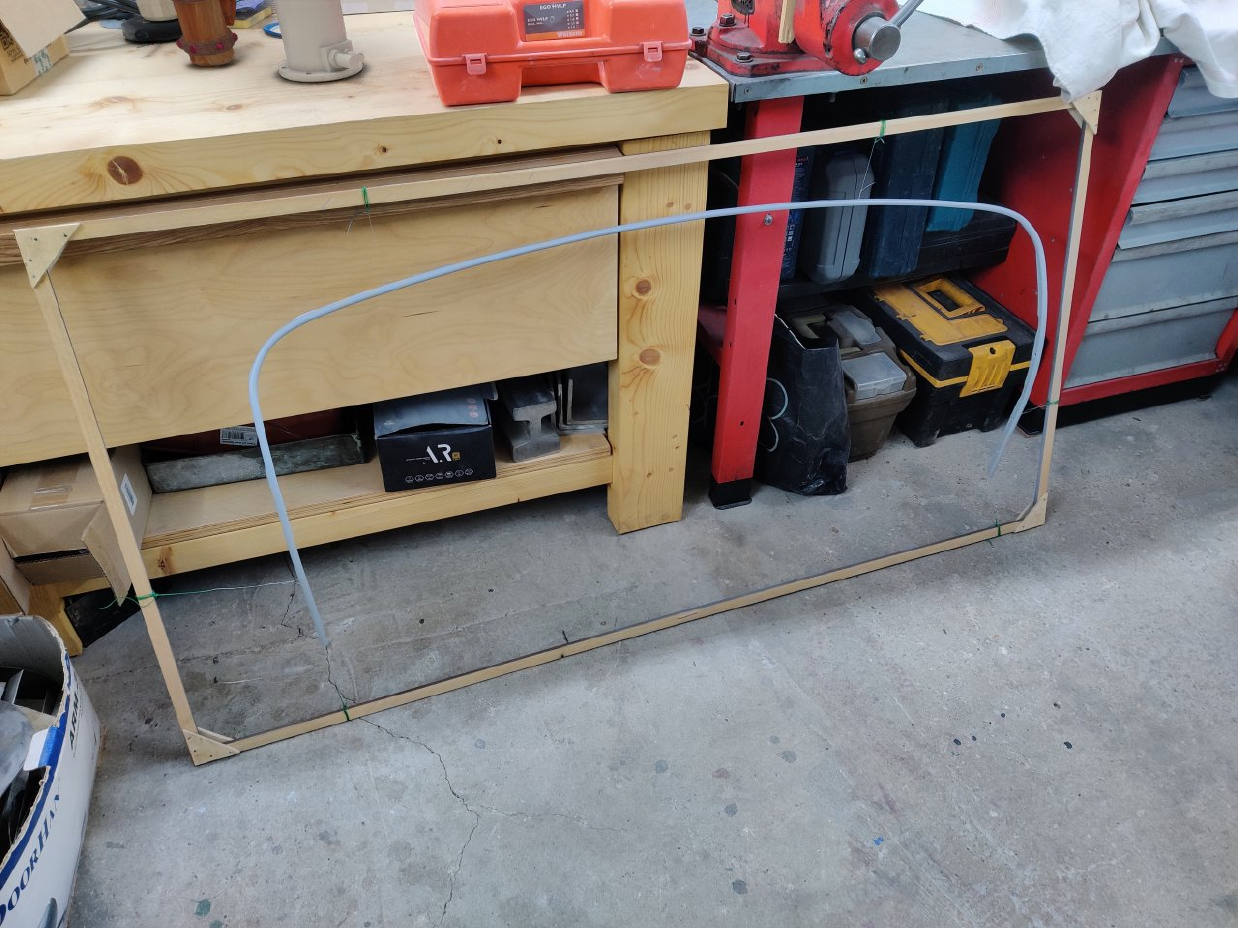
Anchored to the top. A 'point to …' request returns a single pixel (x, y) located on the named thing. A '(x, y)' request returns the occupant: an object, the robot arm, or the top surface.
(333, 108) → the top surface
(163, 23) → the electronic device
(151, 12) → the bowl
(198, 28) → the mug
